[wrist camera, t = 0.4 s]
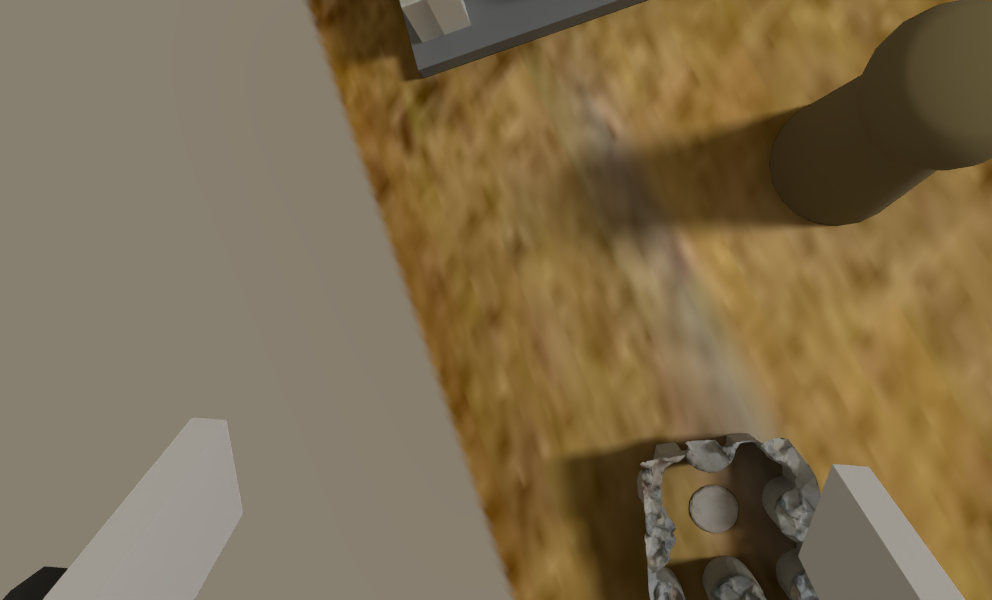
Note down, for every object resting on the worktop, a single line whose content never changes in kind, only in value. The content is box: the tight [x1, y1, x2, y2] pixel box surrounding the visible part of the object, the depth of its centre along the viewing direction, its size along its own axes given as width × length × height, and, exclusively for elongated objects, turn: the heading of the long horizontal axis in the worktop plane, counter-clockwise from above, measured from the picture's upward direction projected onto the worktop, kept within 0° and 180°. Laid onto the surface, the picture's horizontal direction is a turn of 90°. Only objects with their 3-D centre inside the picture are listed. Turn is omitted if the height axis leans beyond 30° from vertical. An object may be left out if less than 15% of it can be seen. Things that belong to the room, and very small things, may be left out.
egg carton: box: [637, 433, 820, 600], centre depth 27 cm, size 11×8×4 cm
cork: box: [770, 0, 992, 226], centre depth 23 cm, size 6×6×11 cm
